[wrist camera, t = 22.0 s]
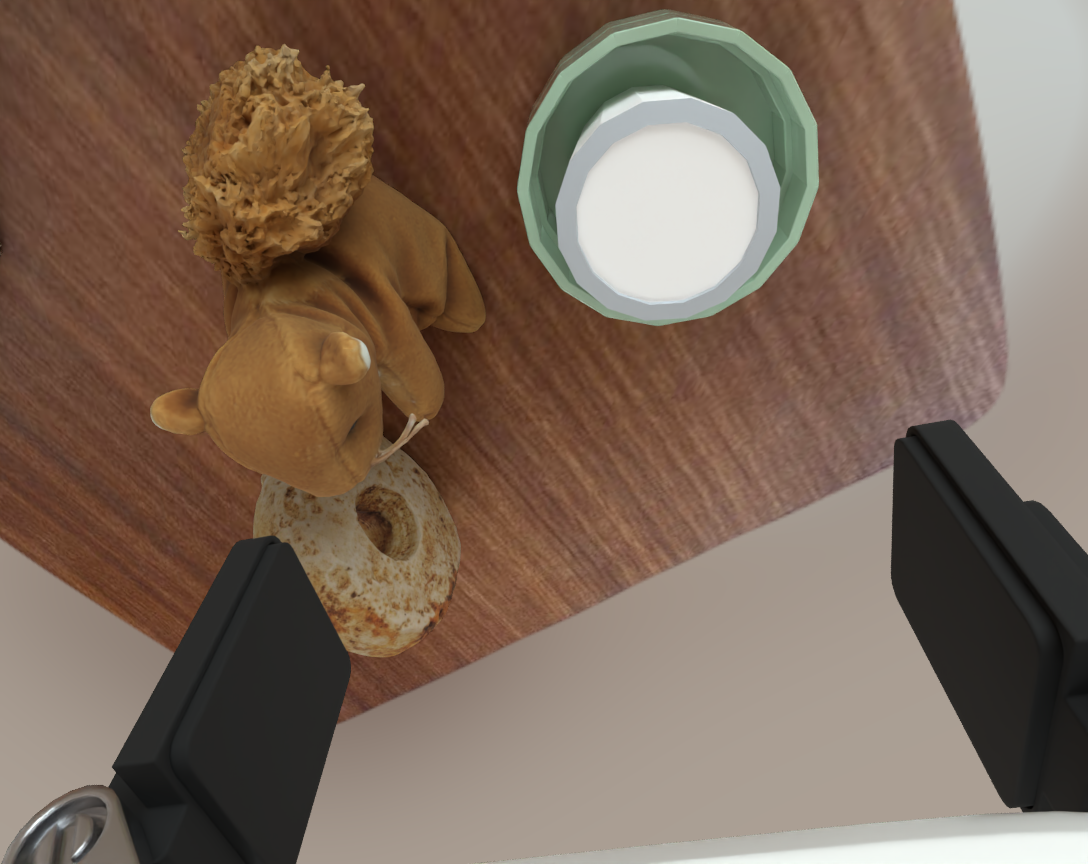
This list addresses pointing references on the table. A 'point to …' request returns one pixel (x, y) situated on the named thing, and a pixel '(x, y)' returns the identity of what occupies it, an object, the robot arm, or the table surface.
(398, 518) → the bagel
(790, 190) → the green bowl
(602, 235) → the white round jar
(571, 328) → the table surface
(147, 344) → the table surface
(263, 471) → the stuffed squirrel
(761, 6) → the table surface
